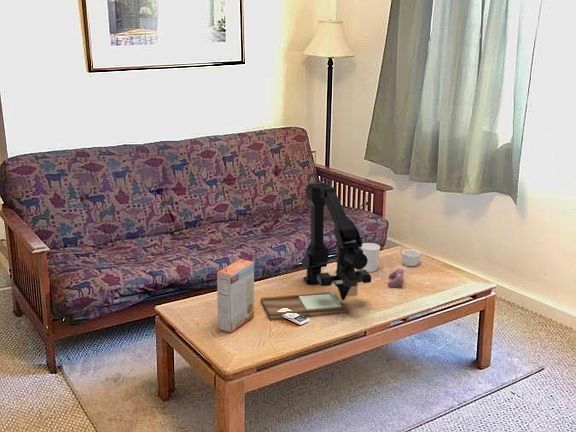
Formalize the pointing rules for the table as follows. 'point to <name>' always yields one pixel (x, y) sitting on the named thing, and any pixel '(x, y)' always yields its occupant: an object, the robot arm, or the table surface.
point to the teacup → (411, 257)
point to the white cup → (371, 256)
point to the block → (352, 291)
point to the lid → (320, 301)
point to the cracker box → (235, 295)
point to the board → (296, 307)
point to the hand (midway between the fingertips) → (342, 299)
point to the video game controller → (396, 277)
